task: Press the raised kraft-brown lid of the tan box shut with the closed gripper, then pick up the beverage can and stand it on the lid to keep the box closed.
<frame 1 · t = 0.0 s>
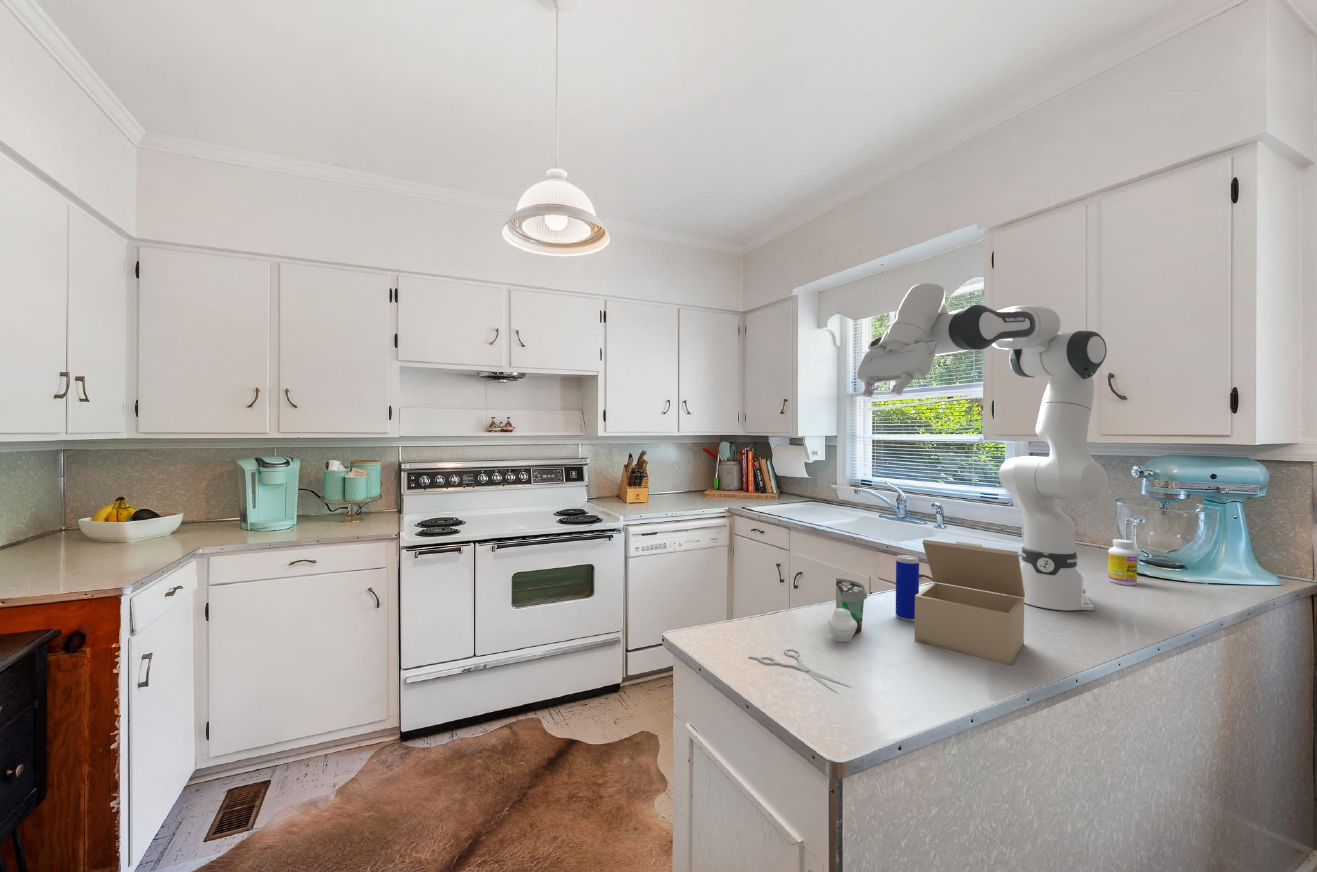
hand: (880, 394, 126), 54 cm above the counter, tool tilted 30°, fingers open, 8 cm apart
supplement bottle: (1122, 583, 163), on the counter
muffin: (842, 640, 119), on the counter
scissors: (803, 673, 104), on the counter
food container: (852, 629, 126), on the counter
tan box: (968, 642, 117), on the counter
lid: (972, 566, 119), point 16 cm above the counter, hinge at 50.0°
beverage can: (907, 618, 133), on the counter
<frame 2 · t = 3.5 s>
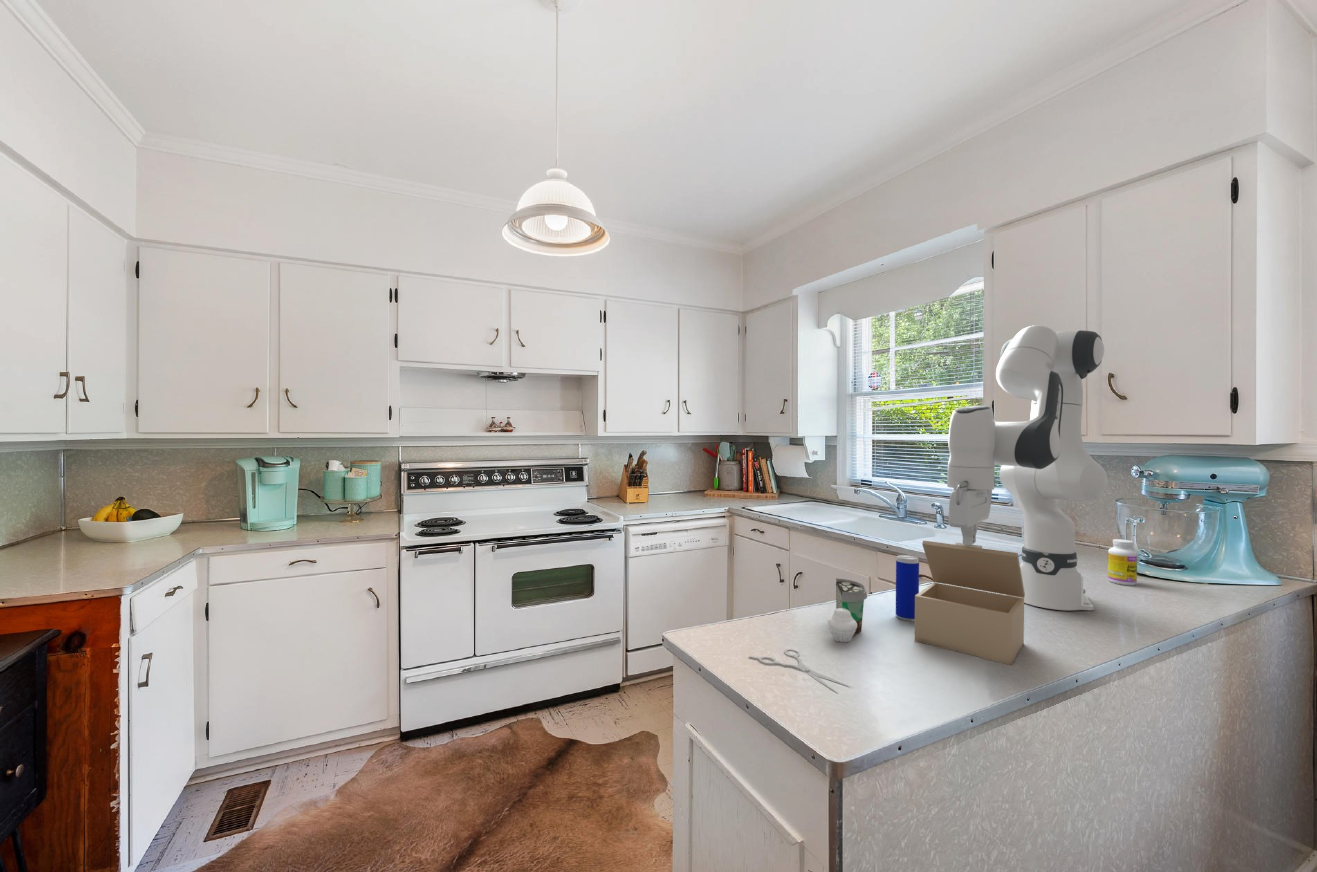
hand: (969, 544, 117), 22 cm above the counter, tool pointing down, fingers closed
lid: (972, 567, 119), point 16 cm above the counter, hinge at 48.6°, touching gripper
everything else where it was.
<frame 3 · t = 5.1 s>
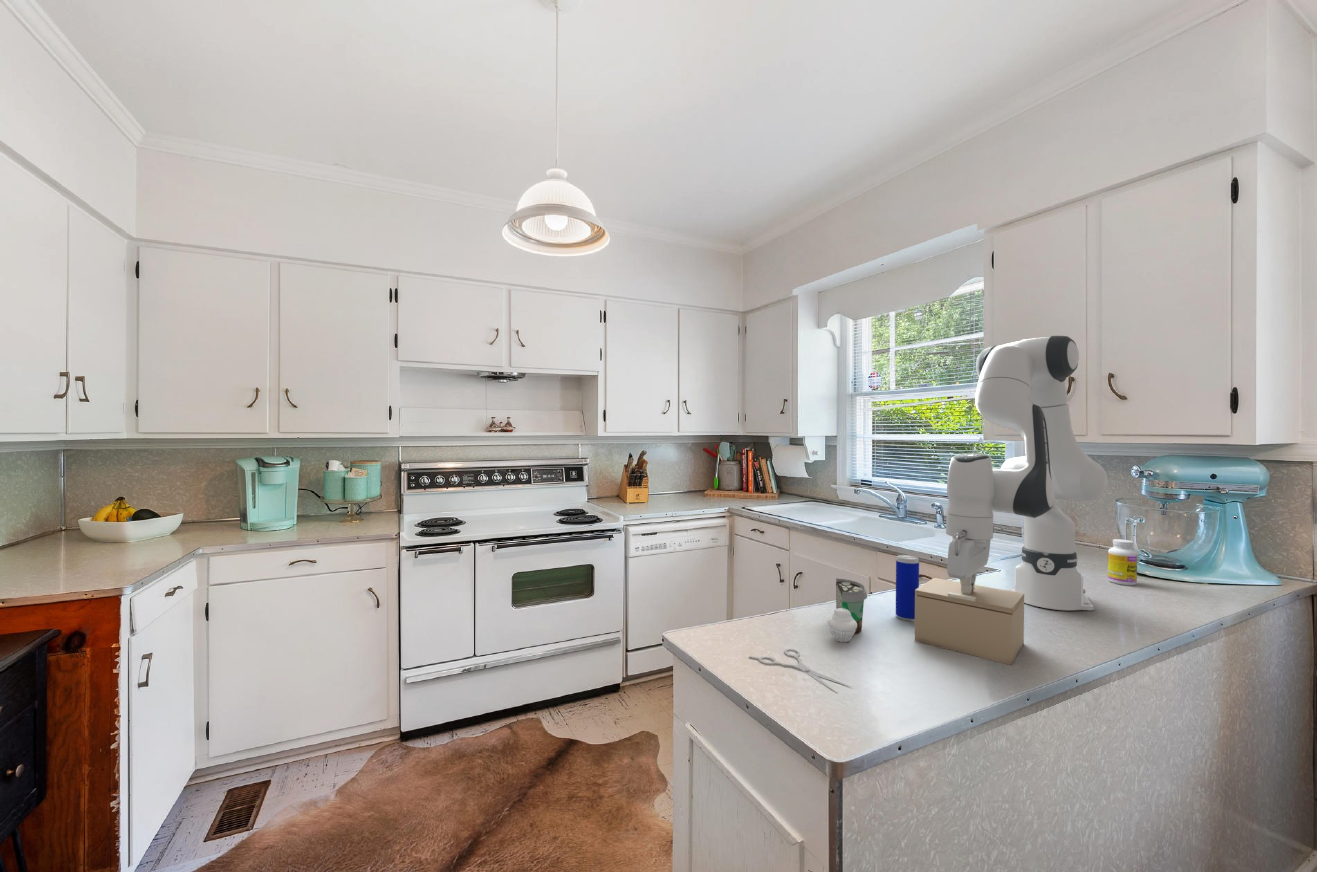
hand: (967, 592, 117), 11 cm above the counter, tool pointing down, fingers closed, pressing on lid
lid: (969, 592, 117), point 11 cm above the counter, hinge at 0.6°, touching gripper
everything else where it was.
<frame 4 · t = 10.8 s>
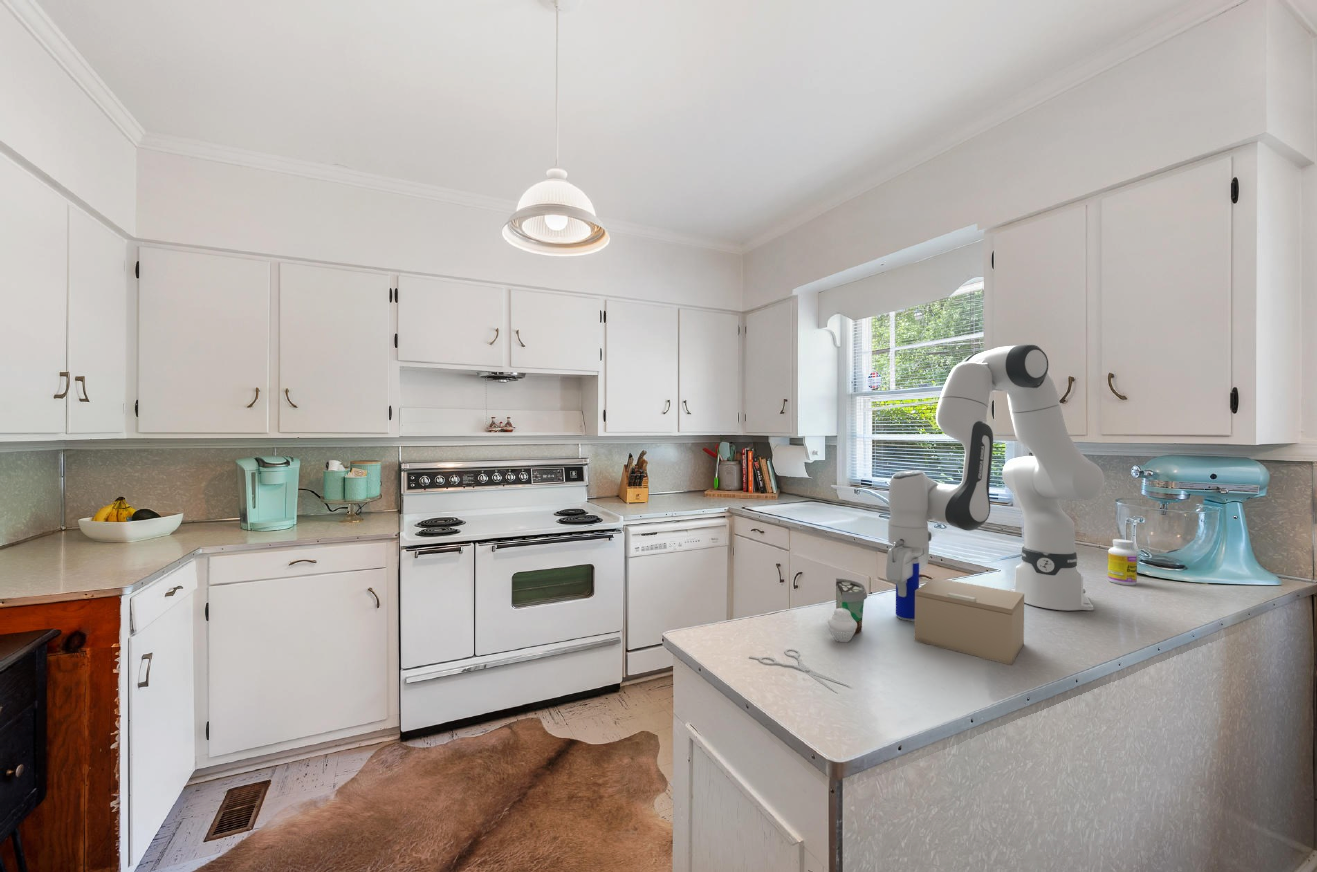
hand: (907, 592, 133), 6 cm above the counter, tool pointing down, fingers closed on beverage can, 5 cm apart
lid: (969, 592, 117), point 11 cm above the counter, hinge at 0.1°
beverage can: (907, 618, 133), on the counter, touching gripper
everything else where it was.
when the fingers open (18 cm above the counter, at t = 16.8 s): beverage can stays where it is, resting on lid.
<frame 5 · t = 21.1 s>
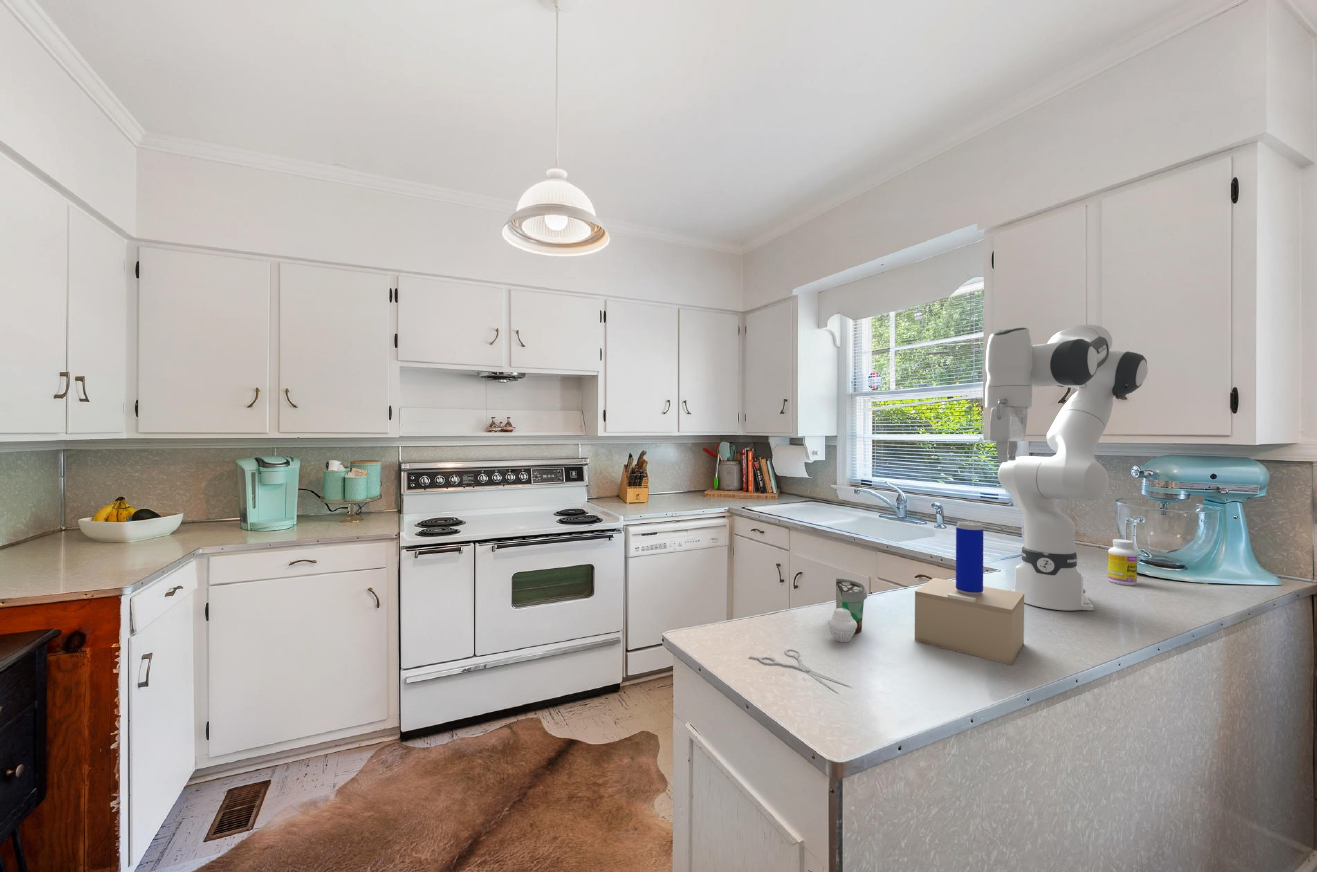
hand: (1007, 461, 122), 39 cm above the counter, tool pointing down, fingers open, 8 cm apart
lid: (969, 593, 117), point 11 cm above the counter, hinge at -0.3°, touching beverage can
beverage can: (969, 592, 117), point 11 cm above the counter, touching lid
everything else where it was.
at the end: lid at +0° (first picture: +50°); beverage can inside the target area on the tan box (0.2 cm from its centre), point 10.8 cm above the tan box's base; beverage can tilted 0° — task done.
